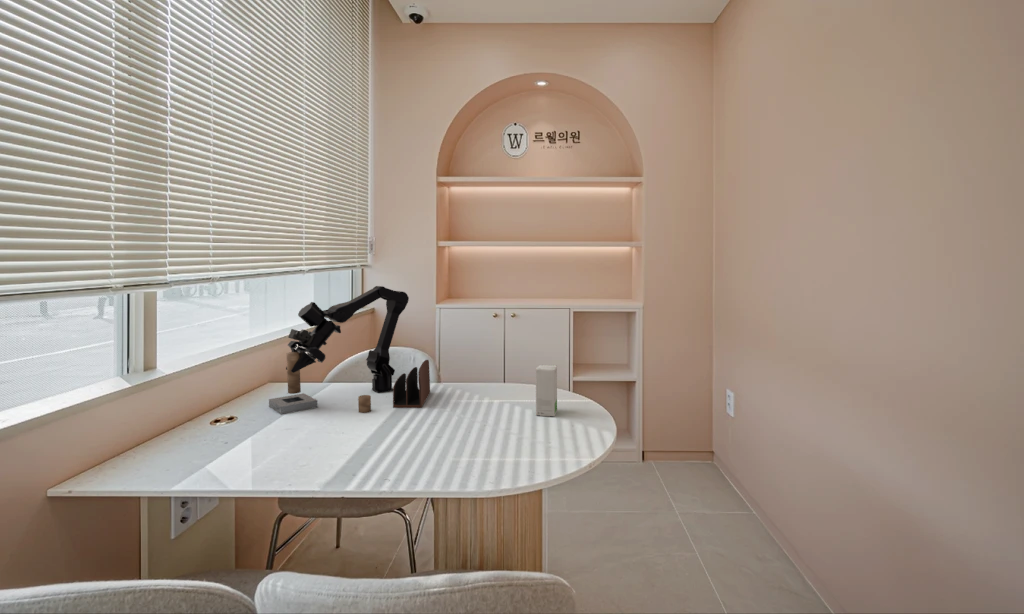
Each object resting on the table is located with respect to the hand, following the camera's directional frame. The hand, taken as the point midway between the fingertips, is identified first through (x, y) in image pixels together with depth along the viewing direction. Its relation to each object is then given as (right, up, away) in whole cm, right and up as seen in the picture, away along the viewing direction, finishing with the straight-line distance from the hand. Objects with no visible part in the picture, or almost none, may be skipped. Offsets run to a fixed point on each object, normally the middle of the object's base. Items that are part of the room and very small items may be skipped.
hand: (289, 370), depth 176 cm
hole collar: (0, -13, +3) cm, 13 cm away
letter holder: (+39, -12, +13) cm, 43 cm away
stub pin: (+26, -13, -1) cm, 29 cm away
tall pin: (+1, -7, +2) cm, 8 cm away
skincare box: (+86, -14, -2) cm, 88 cm away
